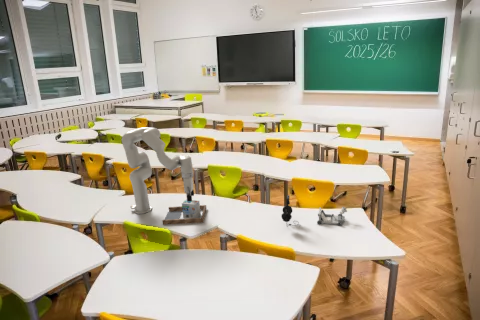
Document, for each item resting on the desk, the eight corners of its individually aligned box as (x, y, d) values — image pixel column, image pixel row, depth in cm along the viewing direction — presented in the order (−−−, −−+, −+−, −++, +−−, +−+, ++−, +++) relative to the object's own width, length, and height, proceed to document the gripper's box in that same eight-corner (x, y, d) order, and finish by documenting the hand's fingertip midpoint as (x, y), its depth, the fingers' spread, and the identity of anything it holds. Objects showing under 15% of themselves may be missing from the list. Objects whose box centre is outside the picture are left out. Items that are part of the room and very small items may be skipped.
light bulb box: (182, 217, 232) (181, 203, 229) (187, 213, 238) (185, 199, 235) (196, 219, 229) (195, 204, 226) (201, 214, 235) (199, 200, 232)
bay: (162, 224, 224) (161, 220, 223) (168, 210, 244) (168, 207, 243) (203, 222, 223) (202, 218, 222) (206, 208, 243) (206, 205, 243)
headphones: (300, 232, 203) (299, 201, 197) (281, 231, 206) (280, 201, 200) (300, 220, 217) (300, 191, 212) (283, 219, 220) (282, 191, 214)
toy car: (347, 204, 214) (347, 212, 204) (346, 218, 217) (347, 227, 207) (318, 203, 219) (317, 210, 209) (318, 216, 222) (317, 224, 211)
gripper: (184, 171, 233) (187, 194, 238) (179, 179, 216) (183, 204, 221) (194, 170, 233) (197, 193, 238) (191, 178, 216) (194, 203, 221)
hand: (190, 198), depth 229 cm, fingers open, 9 cm apart
